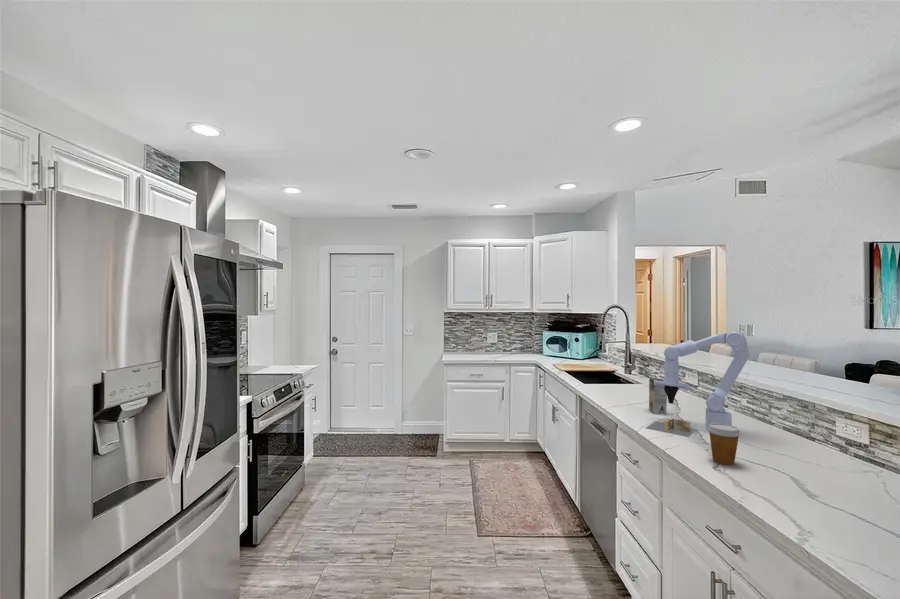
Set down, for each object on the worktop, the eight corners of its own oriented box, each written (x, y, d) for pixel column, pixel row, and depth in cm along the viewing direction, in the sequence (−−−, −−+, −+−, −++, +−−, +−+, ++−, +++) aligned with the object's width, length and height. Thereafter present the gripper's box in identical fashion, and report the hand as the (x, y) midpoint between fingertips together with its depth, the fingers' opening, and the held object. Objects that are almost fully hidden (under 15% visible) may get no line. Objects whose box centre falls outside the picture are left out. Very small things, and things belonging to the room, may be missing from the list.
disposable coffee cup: (737, 459, 150) (737, 425, 150) (742, 468, 141) (743, 432, 141) (705, 455, 154) (706, 421, 154) (709, 463, 145) (709, 428, 145)
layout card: (697, 430, 184) (697, 429, 184) (688, 438, 173) (688, 436, 173) (655, 422, 195) (655, 421, 195) (644, 429, 184) (644, 428, 184)
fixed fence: (690, 431, 180) (690, 421, 180) (689, 432, 179) (689, 422, 179) (675, 428, 184) (675, 418, 184) (674, 429, 183) (674, 419, 183)
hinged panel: (670, 427, 186) (670, 417, 186) (674, 427, 184) (674, 417, 184) (663, 431, 179) (664, 420, 179) (667, 431, 178) (668, 421, 178)
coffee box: (648, 409, 220) (648, 378, 220) (661, 410, 218) (662, 379, 218) (653, 414, 211) (653, 381, 211) (667, 415, 209) (667, 382, 209)
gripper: (651, 372, 196) (651, 401, 196) (686, 376, 186) (686, 407, 186) (656, 370, 201) (656, 399, 201) (691, 374, 191) (690, 404, 191)
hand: (671, 403), depth 194 cm, fingers closed
